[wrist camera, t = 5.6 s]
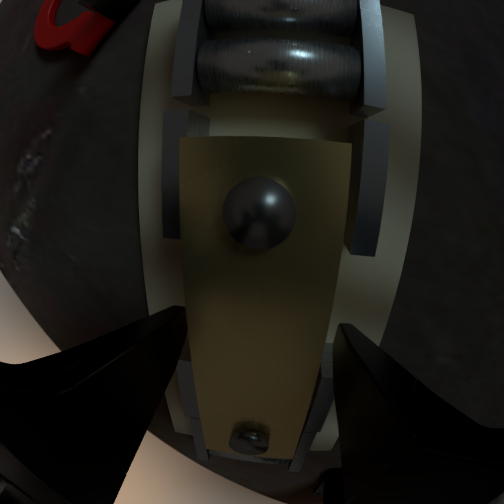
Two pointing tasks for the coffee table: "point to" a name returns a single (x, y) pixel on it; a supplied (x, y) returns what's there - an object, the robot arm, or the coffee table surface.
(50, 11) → the gray post stand
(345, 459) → the robot arm
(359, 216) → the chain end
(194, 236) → the tapered knobbed panel
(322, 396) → the chain end
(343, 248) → the board
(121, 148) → the coffee table surface
